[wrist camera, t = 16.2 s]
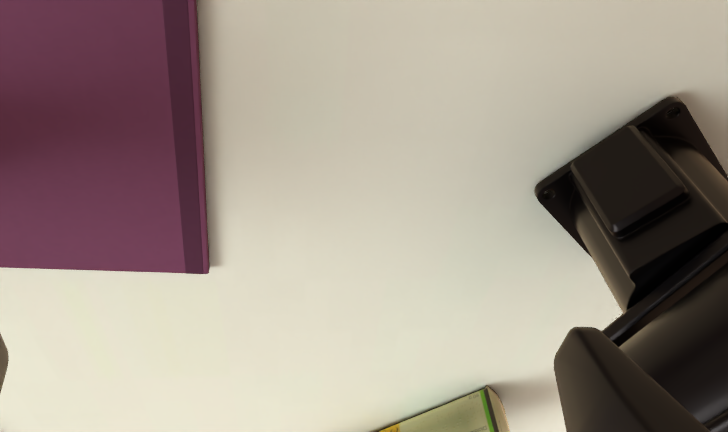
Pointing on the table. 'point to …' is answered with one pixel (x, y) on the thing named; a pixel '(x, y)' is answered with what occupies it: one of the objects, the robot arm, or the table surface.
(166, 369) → the table surface
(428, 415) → the medication box
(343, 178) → the table surface
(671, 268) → the robot arm
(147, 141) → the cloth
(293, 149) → the table surface
